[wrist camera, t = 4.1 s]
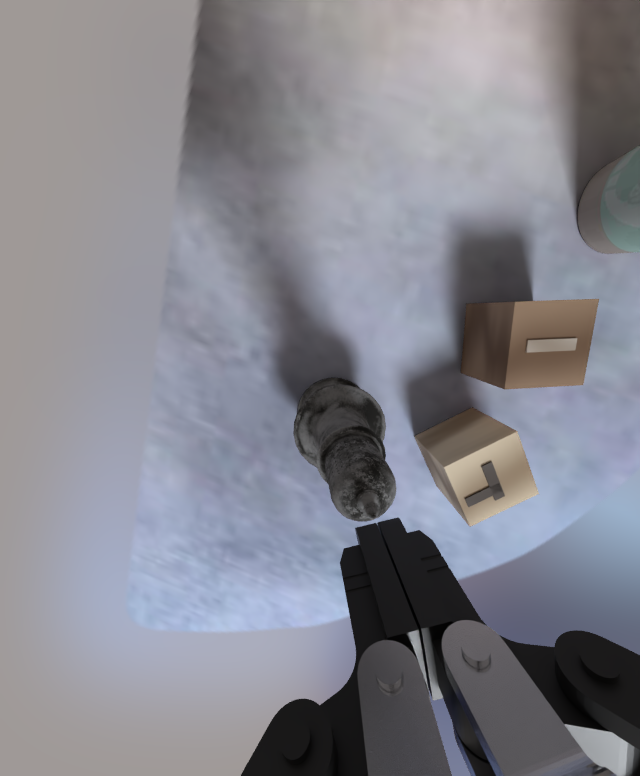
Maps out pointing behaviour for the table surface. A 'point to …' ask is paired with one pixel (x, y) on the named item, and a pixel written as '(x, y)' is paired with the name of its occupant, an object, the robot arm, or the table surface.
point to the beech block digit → (477, 464)
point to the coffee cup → (613, 207)
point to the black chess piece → (346, 446)
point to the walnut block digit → (528, 342)
